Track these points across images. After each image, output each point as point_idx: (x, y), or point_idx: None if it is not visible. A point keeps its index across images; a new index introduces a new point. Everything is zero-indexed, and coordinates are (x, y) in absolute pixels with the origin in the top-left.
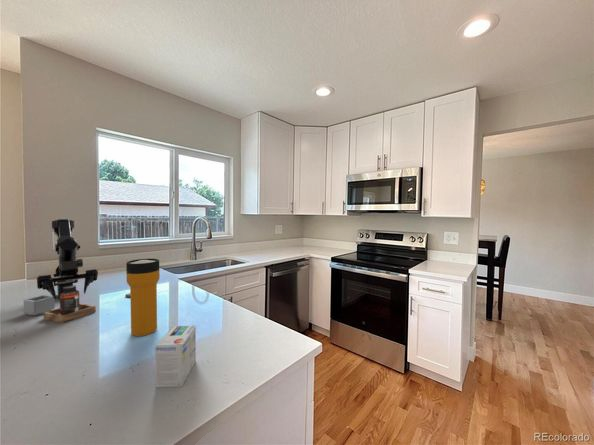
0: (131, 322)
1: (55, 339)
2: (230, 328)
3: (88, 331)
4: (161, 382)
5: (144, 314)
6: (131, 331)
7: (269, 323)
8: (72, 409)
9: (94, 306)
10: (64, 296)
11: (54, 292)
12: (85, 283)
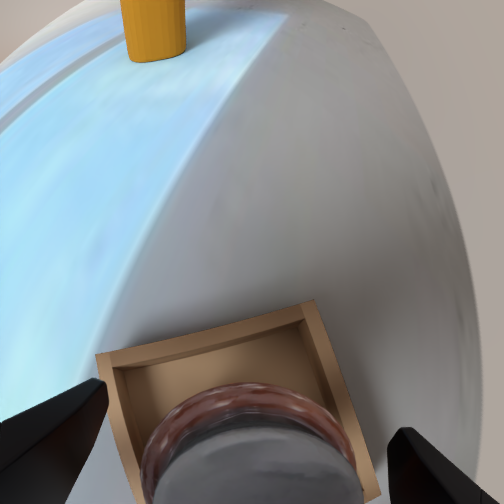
0: (184, 19)
1: (343, 148)
2: (92, 16)
3: (247, 125)
4: None
5: None
6: (185, 42)
7: (64, 13)
8: (320, 9)
9: (102, 353)
10: (323, 409)
11: (436, 465)
12: (6, 449)
